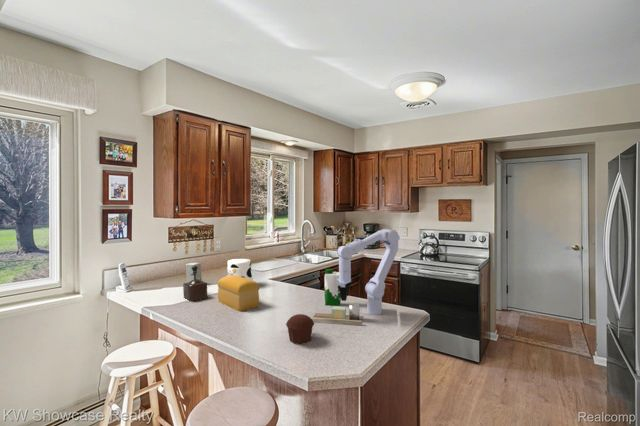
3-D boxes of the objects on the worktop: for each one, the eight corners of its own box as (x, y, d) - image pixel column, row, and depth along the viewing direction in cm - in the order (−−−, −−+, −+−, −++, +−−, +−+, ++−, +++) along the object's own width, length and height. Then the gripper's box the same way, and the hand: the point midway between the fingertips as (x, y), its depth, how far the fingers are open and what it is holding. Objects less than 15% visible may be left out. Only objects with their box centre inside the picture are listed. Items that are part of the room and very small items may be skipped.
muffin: (314, 333, 138) (314, 311, 138) (314, 345, 127) (314, 320, 127) (286, 334, 138) (286, 311, 137) (284, 345, 127) (284, 320, 126)
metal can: (349, 317, 155) (349, 302, 154) (360, 317, 154) (360, 303, 153) (348, 320, 150) (348, 306, 150) (359, 321, 149) (359, 306, 148)
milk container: (221, 289, 211) (220, 262, 211) (235, 283, 228) (235, 257, 227) (244, 291, 206) (243, 263, 206) (257, 284, 223) (256, 259, 222)
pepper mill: (209, 298, 192) (208, 268, 191) (191, 302, 183) (190, 271, 183) (196, 293, 202) (196, 264, 202) (179, 297, 194) (178, 267, 193)
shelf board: (315, 315, 161) (315, 309, 161) (363, 318, 156) (363, 312, 156) (309, 324, 149) (309, 317, 149) (361, 328, 144) (361, 321, 144)
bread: (217, 301, 184) (217, 276, 184) (237, 297, 193) (237, 272, 193) (239, 312, 167) (238, 283, 166) (259, 306, 176) (259, 279, 175)
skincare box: (202, 285, 220) (201, 262, 220) (193, 288, 214) (192, 264, 214) (194, 284, 225) (194, 261, 224) (185, 286, 219) (185, 263, 218)
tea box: (333, 318, 153) (333, 306, 153) (345, 319, 152) (345, 306, 152) (331, 321, 149) (331, 309, 148) (344, 322, 147) (344, 310, 147)
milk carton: (326, 302, 181) (326, 267, 181) (342, 303, 180) (342, 268, 179) (323, 307, 173) (323, 270, 172) (340, 308, 171) (339, 271, 170)
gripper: (338, 267, 164) (339, 293, 164) (334, 273, 150) (334, 302, 150) (352, 267, 162) (352, 294, 163) (349, 274, 148) (349, 303, 149)
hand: (344, 298), depth 156 cm, fingers open, 7 cm apart
